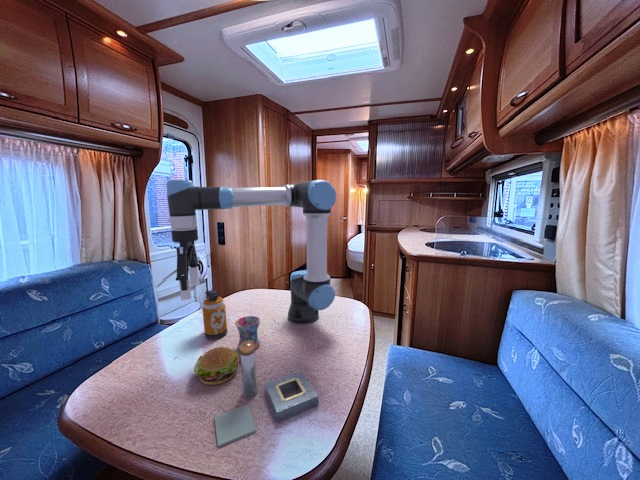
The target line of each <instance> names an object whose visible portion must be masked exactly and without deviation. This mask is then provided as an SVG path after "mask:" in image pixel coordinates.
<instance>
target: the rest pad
mask: <svg viewBox="0 0 640 480" xmlns="http://www.w3.org/2000/svg"><path fill="white" fill-rule="evenodd" d="M214 425H215V434H216V442H217V448H218V447H219V448H220V446H221V447H224V446H225V444H226V445H228V444H231V443H233V442H235V441H237V440H240V439H242V438H245V437H247V436H250V435H252V434H254V433H256V432H257V427H256V424H255V422H254V417H253V415H252V410H251V408H250V404H246V405H242V406H241V407H237V408H235V409H232V410H230V411H227V412H224V413H221V414H218V415H217V416H214ZM232 441H233V442H232ZM230 442H231V443H230ZM227 443H228V444H227Z"/></svg>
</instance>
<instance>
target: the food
mask: <svg viewBox="0 0 640 480" xmlns="http://www.w3.org/2000/svg"><path fill="white" fill-rule="evenodd" d="M238 355H239V352H236V351H235V350H233V349H231V348H229V347H226V346H220V347H215V348H212V349H210V350H208V351H207V352H205V353H204V354H203V355H200V356H199V357H198V359H197V360H196V363H195V365H194V371H193V372H194V374H195V375H196V377H197V379H199V380H200V382H201V383H203V384H204V385H210V386H215V385H221V384H222V383H223V384H224V383H226V382H227V381H228V380H230V379H231V378H233V377H234V375H235V374H236V373H237V371H238V369H239V363H240V357H239V356H238Z"/></svg>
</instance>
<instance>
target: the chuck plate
mask: <svg viewBox="0 0 640 480" xmlns="http://www.w3.org/2000/svg"><path fill="white" fill-rule="evenodd" d="M294 390H295V391H297V394H294V395H292V396H288V397H287V398H285V397H284V394H288V393H289V392H292V391H294ZM264 393H265V395H266V397H267V401H268V402H269V406H270V408H271V410H272V413H273V415H274V418H275V421H276V423H280V422H283V421H285V420H288V419H291V418H293V417H294V416H297V415H299V414H301V413H304V412H306V411H309V410H311V409H313V408H315V407H318V406H319V395H318V393H317V392H316V390H315V389H314V387H313V385H312V384H311V382H310V381H309V380H308V378H307V377H306V375H305V374H304V372H303V371H302V370H299V371H297V372H293V373H291V374H288V375H285V376H282V377H279V378H276V379H273V380H271V381H267V382H265V383H264Z"/></svg>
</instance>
